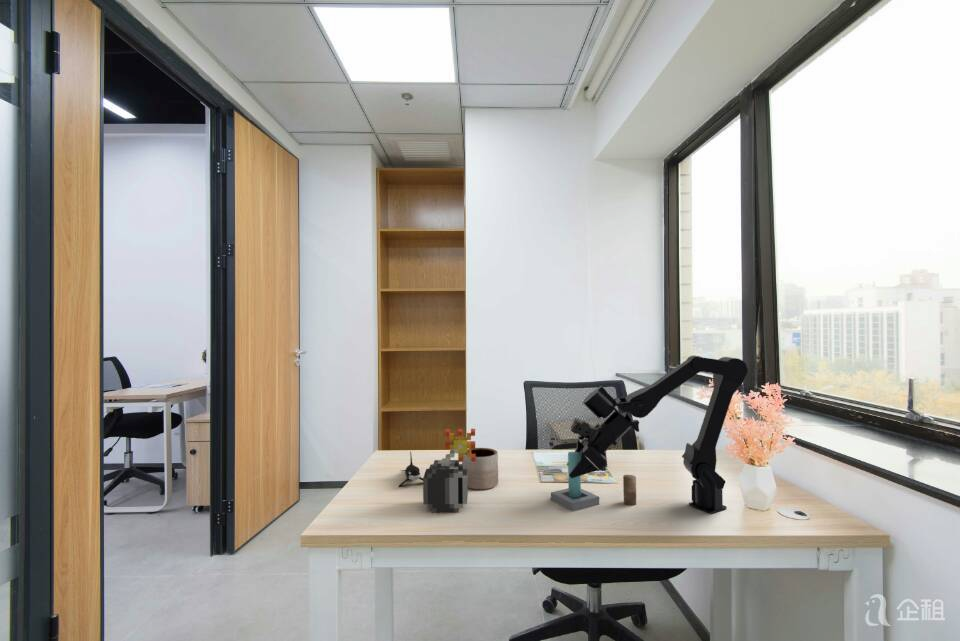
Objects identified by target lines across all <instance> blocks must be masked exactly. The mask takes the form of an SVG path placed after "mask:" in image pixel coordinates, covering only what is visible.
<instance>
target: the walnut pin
mask: <svg viewBox="0 0 960 641" xmlns="http://www.w3.org/2000/svg"><path fill="white" fill-rule="evenodd" d="M622 477H623V478H622V479H623V480H622V481H623V482H622V483H623V489H622V490H623V491H622V492H623V504H624V505H626V506H631V507H633V506H636V505H637V477H636V476H635V475H633V474H624V475H623V476H622Z"/></svg>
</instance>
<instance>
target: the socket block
mask: <svg viewBox="0 0 960 641" xmlns="http://www.w3.org/2000/svg"><path fill="white" fill-rule="evenodd" d="M550 501H552V502H554V503H556V504H558V505H560V506H562V507H563V508H566V509H567V510H569V511H571V512H576V511H579V510H583V509H587V508H591V507H595V506H597V505H600V496H599V495H596V494H594V493H592V492H589V491H588V490H585V489H584V488H581V498H578V499H574V500H573V499H571V498H569V487H568V488H564V489H559V490H555V491H551V492H550Z"/></svg>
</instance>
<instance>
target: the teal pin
mask: <svg viewBox="0 0 960 641" xmlns="http://www.w3.org/2000/svg"><path fill="white" fill-rule="evenodd" d="M579 460H580V453H579V452H575V451H568V453H567V463H568V466H567V468H568V469H567V470H568V476H567V477H568V488H569V498H571V499H573V500H574V499H578V498H581V489H582V487H581V486H582V477H581V476H582V475H581V476H578V477H575V478H571V477H570V476H569V474H570V472H571V471H572V470H573V468H574V467H575V466H576V464H577V463H578V462H579Z"/></svg>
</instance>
